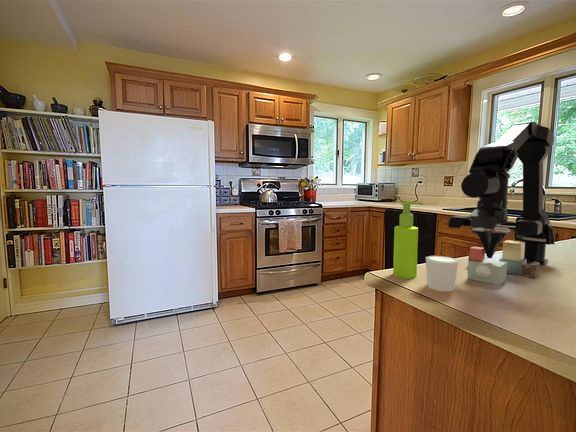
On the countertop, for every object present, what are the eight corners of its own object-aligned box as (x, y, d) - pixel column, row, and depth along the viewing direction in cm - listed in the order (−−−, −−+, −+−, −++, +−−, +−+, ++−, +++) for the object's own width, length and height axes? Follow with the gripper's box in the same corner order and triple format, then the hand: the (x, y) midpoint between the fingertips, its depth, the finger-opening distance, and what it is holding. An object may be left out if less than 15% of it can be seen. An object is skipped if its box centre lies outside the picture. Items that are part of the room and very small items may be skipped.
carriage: (498, 270, 80) (500, 241, 79) (503, 267, 83) (505, 239, 82) (521, 274, 76) (523, 244, 75) (525, 270, 79) (527, 242, 79)
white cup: (430, 280, 73) (431, 253, 73) (461, 287, 68) (462, 258, 68) (420, 287, 68) (421, 258, 68) (452, 294, 64) (453, 263, 63)
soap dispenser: (423, 279, 74) (425, 202, 73) (395, 277, 76) (397, 202, 74) (417, 272, 80) (420, 201, 78) (391, 271, 82) (393, 201, 80)
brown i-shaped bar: (468, 266, 86) (468, 255, 86) (473, 263, 89) (474, 252, 89) (535, 278, 74) (536, 265, 74) (538, 274, 77) (539, 262, 77)
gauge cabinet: (475, 273, 79) (476, 257, 78) (506, 279, 73) (507, 262, 73) (467, 278, 75) (468, 261, 74) (498, 285, 69) (499, 266, 69)
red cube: (473, 257, 77) (473, 246, 77) (484, 259, 75) (485, 247, 75) (469, 259, 76) (470, 247, 75) (481, 260, 74) (481, 249, 73)
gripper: (440, 197, 74) (437, 256, 75) (534, 198, 59) (529, 272, 61) (457, 195, 81) (454, 250, 82) (544, 196, 67) (540, 262, 68)
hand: (489, 257), depth 73 cm, fingers closed
